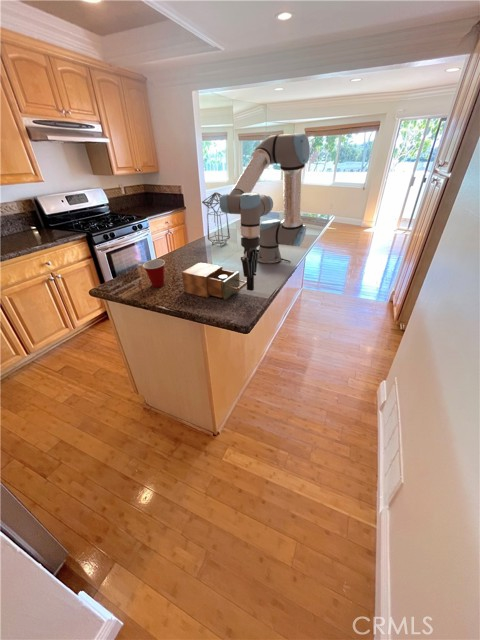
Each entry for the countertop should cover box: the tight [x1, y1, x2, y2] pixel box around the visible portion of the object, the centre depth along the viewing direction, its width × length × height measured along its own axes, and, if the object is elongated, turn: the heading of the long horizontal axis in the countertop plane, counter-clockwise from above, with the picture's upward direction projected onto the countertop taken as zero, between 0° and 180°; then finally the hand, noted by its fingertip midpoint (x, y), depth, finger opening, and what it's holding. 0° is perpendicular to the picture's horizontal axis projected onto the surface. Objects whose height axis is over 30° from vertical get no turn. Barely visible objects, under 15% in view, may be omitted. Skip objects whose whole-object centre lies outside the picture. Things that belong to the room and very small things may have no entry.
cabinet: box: [181, 262, 223, 299], centre depth 129 cm, size 13×14×10 cm
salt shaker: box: [218, 275, 227, 292], centre depth 125 cm, size 4×4×7 cm
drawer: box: [206, 268, 247, 300], centre depth 124 cm, size 18×13×9 cm
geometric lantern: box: [201, 191, 231, 247], centre depth 188 cm, size 16×16×35 cm
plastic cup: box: [142, 258, 166, 288], centre depth 134 cm, size 11×11×12 cm
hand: (250, 289), depth 119 cm, fingers closed
